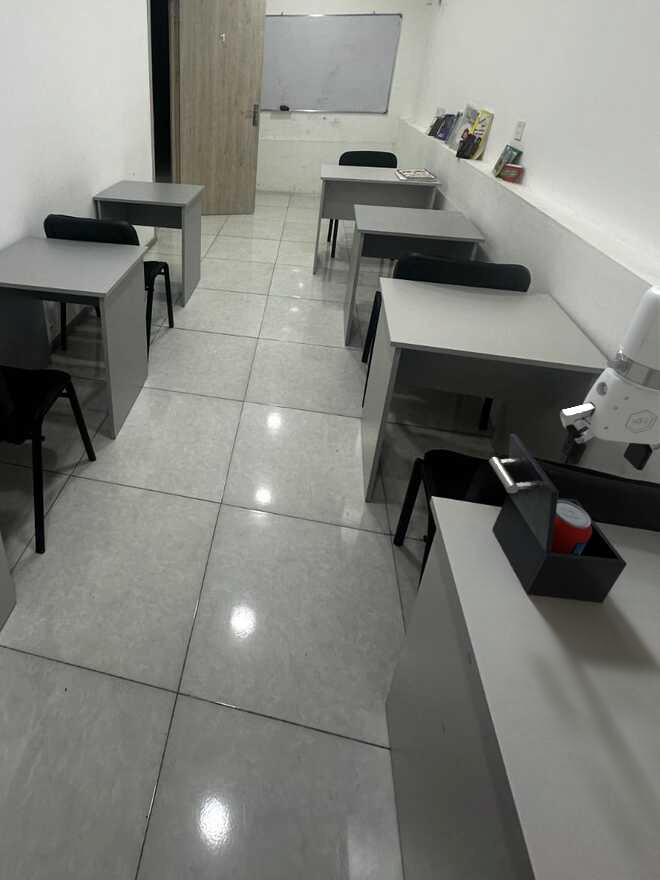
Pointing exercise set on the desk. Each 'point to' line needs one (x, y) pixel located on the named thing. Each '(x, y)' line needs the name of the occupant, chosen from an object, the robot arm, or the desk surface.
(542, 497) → the lid
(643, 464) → the robot arm
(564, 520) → the beverage can
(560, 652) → the desk surface
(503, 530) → the box
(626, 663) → the desk surface
